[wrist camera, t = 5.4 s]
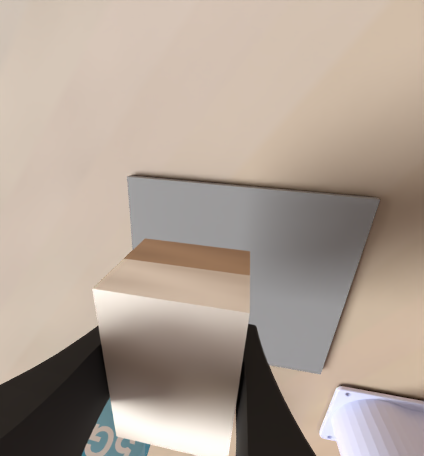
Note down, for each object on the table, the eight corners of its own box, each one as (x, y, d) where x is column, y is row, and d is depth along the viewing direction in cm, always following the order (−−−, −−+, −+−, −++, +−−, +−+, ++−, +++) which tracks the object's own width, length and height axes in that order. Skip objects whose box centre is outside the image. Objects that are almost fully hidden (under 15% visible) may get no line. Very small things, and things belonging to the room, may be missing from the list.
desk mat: (375, 197, 16) (380, 199, 16) (318, 368, 22) (320, 374, 22) (130, 175, 18) (127, 176, 18) (142, 337, 25) (139, 341, 24)
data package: (163, 389, 27) (104, 561, 16) (161, 412, 29) (106, 582, 18) (69, 364, 28) (-47, 510, 17) (72, 388, 30) (-31, 534, 19)
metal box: (233, 373, 13) (227, 462, 10) (151, 358, 14) (116, 436, 10) (250, 251, 10) (249, 313, 7) (144, 238, 11) (92, 288, 7)
